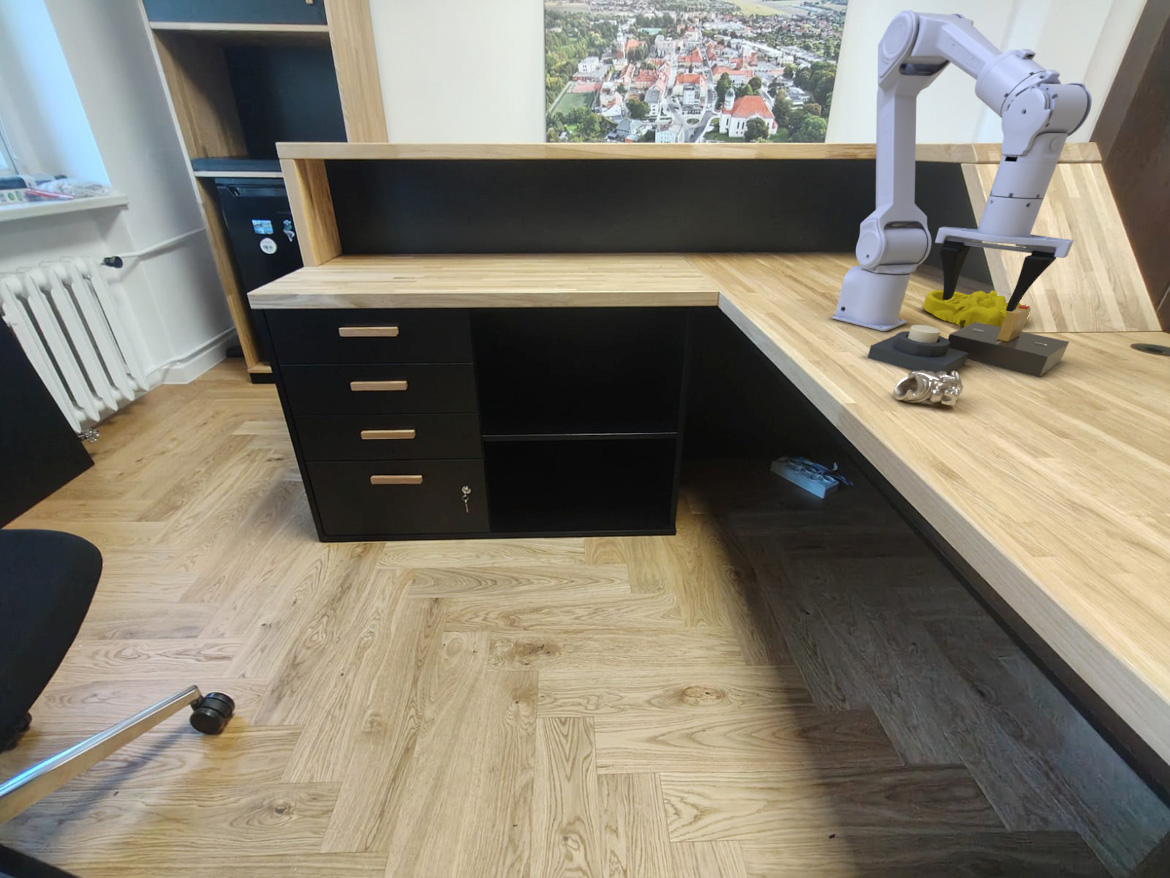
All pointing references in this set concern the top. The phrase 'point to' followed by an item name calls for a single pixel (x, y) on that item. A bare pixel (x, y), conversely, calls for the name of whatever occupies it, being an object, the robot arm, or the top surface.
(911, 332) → the bell button
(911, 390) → the ornament
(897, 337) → the doorbell
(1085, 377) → the top surface
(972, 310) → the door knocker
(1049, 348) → the plate
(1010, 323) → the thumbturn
